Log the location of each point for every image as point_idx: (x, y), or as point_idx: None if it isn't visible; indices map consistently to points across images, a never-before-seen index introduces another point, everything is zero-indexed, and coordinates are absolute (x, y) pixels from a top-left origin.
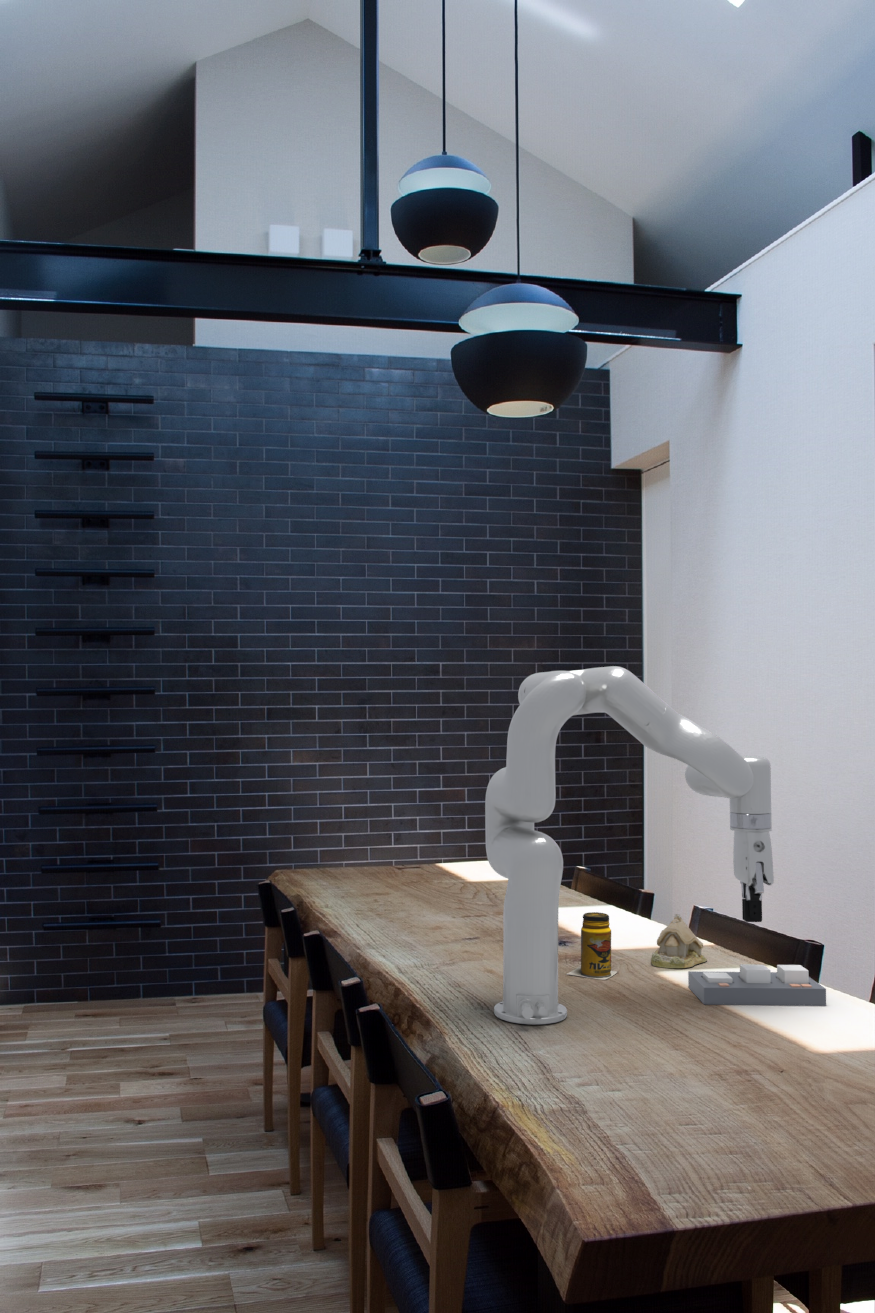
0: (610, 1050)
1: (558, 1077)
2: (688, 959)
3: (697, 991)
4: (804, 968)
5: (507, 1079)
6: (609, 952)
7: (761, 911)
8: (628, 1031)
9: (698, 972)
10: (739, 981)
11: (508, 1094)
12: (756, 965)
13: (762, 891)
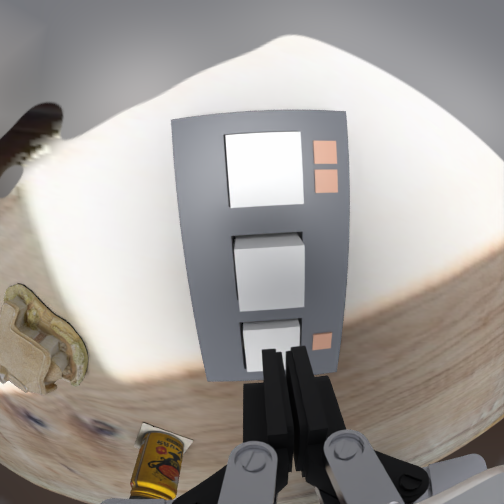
0: (453, 413)
1: (477, 422)
2: (62, 335)
3: None
4: (272, 134)
5: (467, 439)
6: (164, 460)
7: (313, 379)
8: (418, 414)
9: (212, 367)
10: None
11: (482, 430)
12: (247, 271)
13: (477, 461)
